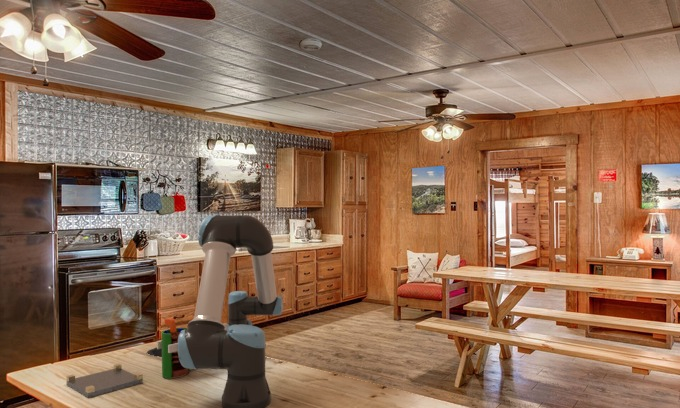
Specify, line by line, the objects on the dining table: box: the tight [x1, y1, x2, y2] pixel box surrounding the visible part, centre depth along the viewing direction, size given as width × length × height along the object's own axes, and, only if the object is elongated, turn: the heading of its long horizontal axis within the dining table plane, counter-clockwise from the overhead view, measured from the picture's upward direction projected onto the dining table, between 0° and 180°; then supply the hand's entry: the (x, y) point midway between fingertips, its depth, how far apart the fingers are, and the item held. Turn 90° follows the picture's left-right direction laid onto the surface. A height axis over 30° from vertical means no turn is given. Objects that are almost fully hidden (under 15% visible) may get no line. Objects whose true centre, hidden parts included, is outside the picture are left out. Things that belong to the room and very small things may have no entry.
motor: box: [160, 317, 191, 379], centre depth 177 cm, size 10×9×20 cm
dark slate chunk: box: [146, 347, 162, 358], centre depth 209 cm, size 15×22×5 cm
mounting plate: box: [66, 363, 143, 399], centre depth 167 cm, size 18×18×3 cm
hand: (163, 347), depth 173 cm, fingers closed on motor, 7 cm apart
